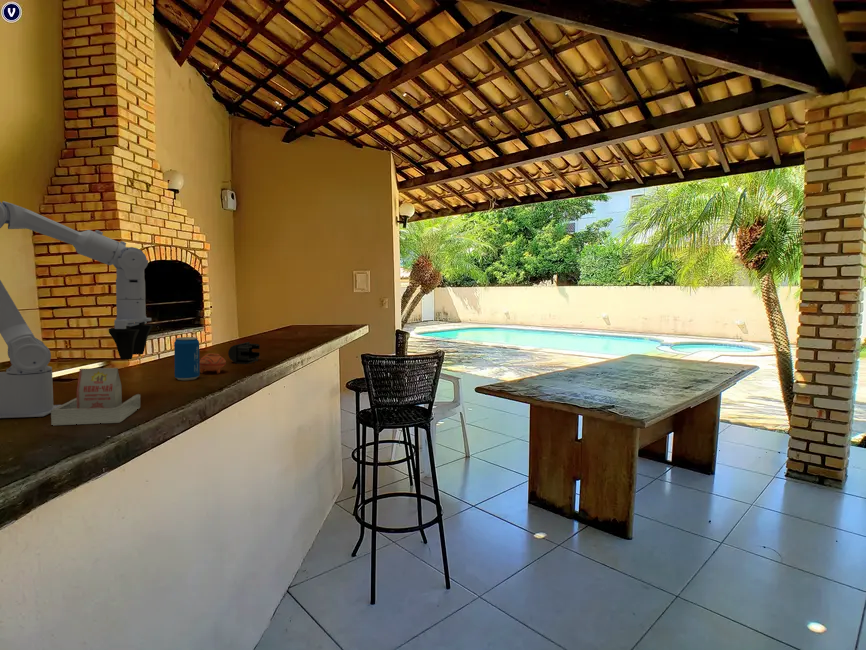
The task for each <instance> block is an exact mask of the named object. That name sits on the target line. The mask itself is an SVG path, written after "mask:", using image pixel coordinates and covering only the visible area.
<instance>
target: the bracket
mask: <svg viewBox="0 0 866 650" xmlns="http://www.w3.org/2000/svg"><path fill="white" fill-rule="evenodd" d="M60 405H61V406H59V407H57V408H55V409H53V410H51V413H50V418H51V419H50V421H51V422H50V423H51V425H53V426H71V425H73V426H75V425H76V424H77V425H94V424H95V425H96V424H98V425H99V424H100V423H101V424H121V423H122V422H123V421H124V420H126V419H127V418H128V417H129V416H131V415H133V414H134V413H136V411H138V410H139V409H140V408H141V393H140V394H139V393H137V394H135V395H133V396H132V397H130V398H128V399H127V400H125V401H123V402H122V404H121V405H119V406H118V407H105V408H77V397H75V398H72V399H71V400H69V401H67V402H65V403H63V404H60ZM137 409H138V410H137Z"/></svg>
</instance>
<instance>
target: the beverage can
mask: <svg viewBox="0 0 866 650" xmlns="http://www.w3.org/2000/svg"><path fill="white" fill-rule="evenodd" d="M173 344H174V345H173V346H174V347H173V349H174V352H173V353H174V359H173V360H174V378H176V379H177V381H193V380H197V379H198V378H199V377H200V376H201V375H200V373H201V371H200V359H201V358H200V341H199V339H198V337H194V336H186V337H185V336H183V337H176V338H175V341H174V343H173Z"/></svg>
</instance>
